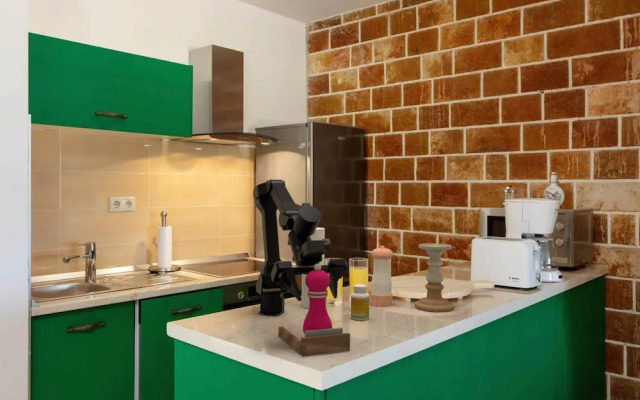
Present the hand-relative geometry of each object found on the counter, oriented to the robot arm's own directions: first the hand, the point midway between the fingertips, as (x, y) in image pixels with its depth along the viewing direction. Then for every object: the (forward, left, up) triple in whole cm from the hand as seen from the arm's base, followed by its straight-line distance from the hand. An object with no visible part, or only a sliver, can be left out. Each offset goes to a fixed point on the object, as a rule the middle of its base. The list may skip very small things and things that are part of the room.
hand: (318, 299), depth 131 cm
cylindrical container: (-11, +42, -12) cm, 46 cm away
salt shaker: (+10, +51, -12) cm, 54 cm away
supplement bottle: (+6, +30, -12) cm, 33 cm away
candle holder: (+27, +50, -12) cm, 58 cm away
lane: (-2, +3, -12) cm, 12 cm away
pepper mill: (0, +1, -12) cm, 12 cm away
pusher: (+2, -3, -11) cm, 12 cm away
